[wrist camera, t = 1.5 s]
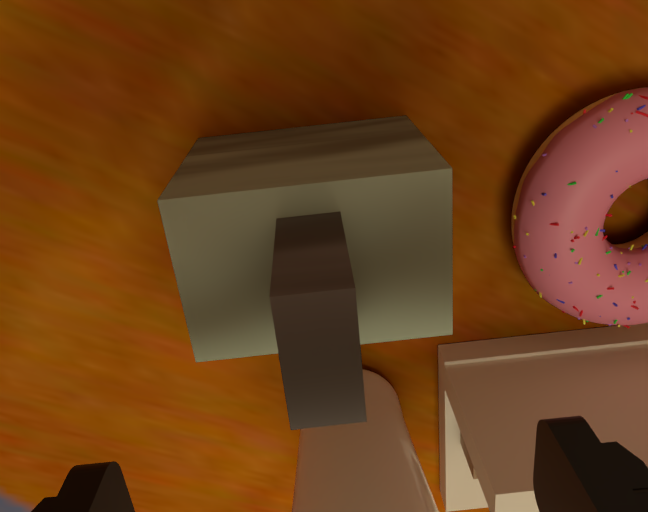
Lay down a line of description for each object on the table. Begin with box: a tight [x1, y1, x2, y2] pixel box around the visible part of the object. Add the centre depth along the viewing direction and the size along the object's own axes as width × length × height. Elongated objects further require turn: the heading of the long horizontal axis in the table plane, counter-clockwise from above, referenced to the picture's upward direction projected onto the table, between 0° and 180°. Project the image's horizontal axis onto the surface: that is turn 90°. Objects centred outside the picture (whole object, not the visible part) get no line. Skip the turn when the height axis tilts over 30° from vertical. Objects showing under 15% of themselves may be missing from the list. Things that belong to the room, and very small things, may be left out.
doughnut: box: [511, 87, 648, 328], centre depth 25 cm, size 11×11×4 cm
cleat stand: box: [438, 323, 648, 512], centre depth 27 cm, size 10×14×10 cm
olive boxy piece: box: [157, 116, 453, 430], centre depth 20 cm, size 6×9×13 cm, turn 96°
